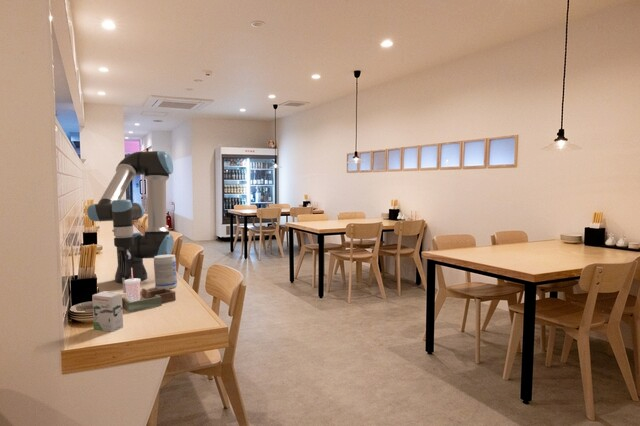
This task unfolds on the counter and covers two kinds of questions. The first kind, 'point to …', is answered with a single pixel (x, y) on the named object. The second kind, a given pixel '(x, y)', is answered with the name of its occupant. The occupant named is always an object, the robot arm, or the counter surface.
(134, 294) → the beverage cup
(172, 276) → the supplement tub
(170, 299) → the divided tray
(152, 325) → the counter surface
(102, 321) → the ink box
